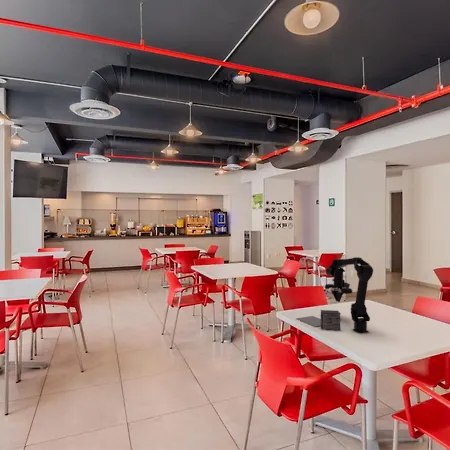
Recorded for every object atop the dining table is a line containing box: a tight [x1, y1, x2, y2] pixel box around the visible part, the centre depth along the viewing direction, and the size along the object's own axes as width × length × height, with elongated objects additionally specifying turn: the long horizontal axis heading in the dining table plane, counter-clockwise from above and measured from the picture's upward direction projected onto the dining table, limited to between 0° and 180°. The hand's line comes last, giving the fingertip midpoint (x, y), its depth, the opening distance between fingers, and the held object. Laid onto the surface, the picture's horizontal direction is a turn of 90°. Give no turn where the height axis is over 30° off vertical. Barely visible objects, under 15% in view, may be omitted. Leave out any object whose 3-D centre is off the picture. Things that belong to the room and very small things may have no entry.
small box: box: [320, 309, 341, 331], centre depth 197 cm, size 11×6×10 cm, turn 84°
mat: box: [295, 315, 321, 328], centre depth 210 cm, size 18×14×1 cm
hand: (337, 301), depth 215 cm, fingers closed
